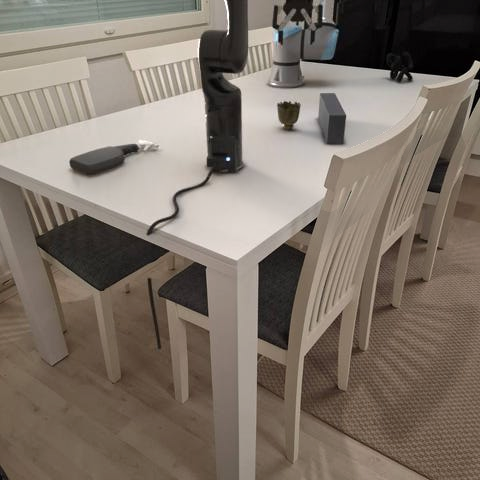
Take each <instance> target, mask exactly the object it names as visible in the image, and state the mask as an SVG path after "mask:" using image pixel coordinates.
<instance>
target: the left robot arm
mask: <svg viewBox="0 0 480 480" xmlns="http://www.w3.org/2000/svg"><path fill="white" fill-rule="evenodd" d="M223 2H224V3H225V7H226V15H227V30H225V29H206V30H204V31H203V32H202V33H201V34H200V37H199V39H198V46H197V58H198V67H199V68H198V69H199V77H200V86H201V87H200V88H201V92H202V94H203V99H204V100H203V101H204V116H205V117H204V118H205V133H206V134H205V135H206V151H207V152H206V153H207V156H206V168H208V169H209V172H208V174H207V176H206V178H204V180H203V181H202V182H200V183H199V184H197V185H193V186H191V187H185V188H182V189H179V190H178V191H176V192H175V193H174V195H173V196H172V203H173V206H174V209H175V210H174V212H173V213H172V214H171V215H169V216H165V217H162V218H160V219H157V220H155V221H154V222H152V224H151V225H150V226H149V228H148V229H147V231H146V236H151V234H152V232H153V230H154V229H155V228H156V227H157V226H158V225H160V224H162V223H164V222H167V221H171V220H173V219H175V218H176V217H177V216H178V214H179V212H180V207H179V204H178V201H177V198H178V196H180V195H181V194H183V193H185V192H189V191H192V190H195V189H198V188H200V187H204V186H205V185H206V184H207V183H208V182H209V180H210V178H211V176H212V174H213V173H237V171H239V170H240V169H242V168H243V166H244V160H243V114H242V113H243V109H242V108H243V106H242V105H243V104H242V103H243V102H242V101H243V100H242V99H243V98H242V96H243V95H242V90H241V88H240V87H239V86H237V85H235V84H233V83H232V82H230V81H229V80H228V79H227V78H226V77H225V75H224V74H231V75H239V74H241V73H243V71H244V70H245V68H246V66H247V63H248V56H249V12H248V11H249V8H248V7H249V6H248V5H249V0H223ZM313 9H314V10H315V12H316V13H317V24H315V25H314V23H313V22H312V17H310V15H311V14H312V10H313ZM281 11H283V12H284V14H285V17H284V18H283V19H282V21H281V22H280V24H279V23H278V16H279V14H281ZM271 21H272V22H271V27H272V29H274V30H278V42H279V43H280V45H283V29H284V27H287V25H288V24H289V22H292V23H296V21H299V23H303V22H306V23H307V26H308V25H309V26H310V28H311V30H310V36H309V45H312V43H314V41H315V31H316V30H317V29H319V28H322V26H323V5H321V4H318V5H313V0H284V2H283V4H282V5H277V4H274V5H273V7H272V19H271ZM147 287H148V297H149V303H150V309H151V313H152V314H151V315H152V319H153V326H154V331H155V337H156V345H157V349H158V350H161V349H162V343H161V336H160V331H159V330H160V329H159V324H158V317H157V312H156V307H155V300H154V293H153V283H152V278H151V277H147Z"/></svg>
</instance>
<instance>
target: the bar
mask: <svg viewBox="0 0 480 480" xmlns="http://www.w3.org/2000/svg"><path fill="white" fill-rule="evenodd" d="M317 119H318V122H319V126H320V128H321V131H322V135H323V138H324V140H325V143H326V145H344V142H345V131H346V123H347V113H346V111H345V110H344V108H343V106H342V104H341V102H340V101H339V99H338V96H337V95H336V93H335V92H320V93H319V102H318V116H317Z"/></svg>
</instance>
